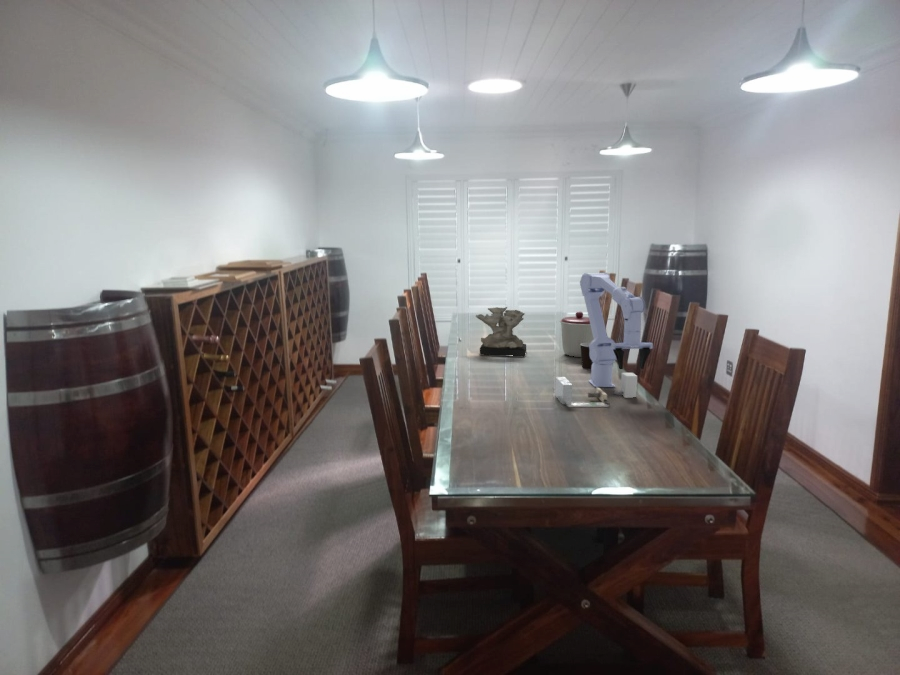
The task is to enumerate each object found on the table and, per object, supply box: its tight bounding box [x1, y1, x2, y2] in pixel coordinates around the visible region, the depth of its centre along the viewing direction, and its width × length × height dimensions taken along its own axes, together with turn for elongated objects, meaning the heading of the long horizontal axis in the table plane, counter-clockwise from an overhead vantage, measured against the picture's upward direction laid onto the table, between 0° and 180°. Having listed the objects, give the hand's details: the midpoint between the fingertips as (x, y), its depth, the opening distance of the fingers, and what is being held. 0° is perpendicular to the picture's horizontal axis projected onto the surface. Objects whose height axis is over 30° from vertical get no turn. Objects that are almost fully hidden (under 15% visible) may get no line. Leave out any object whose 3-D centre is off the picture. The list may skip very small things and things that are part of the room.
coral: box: [475, 306, 527, 357], centre depth 288 cm, size 25×20×21 cm
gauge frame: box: [554, 376, 610, 408], centre depth 207 cm, size 14×15×7 cm
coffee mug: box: [580, 343, 593, 370], centre depth 258 cm, size 12×9×10 cm
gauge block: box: [613, 372, 638, 399], centre depth 214 cm, size 5×7×8 cm
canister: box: [559, 311, 594, 358], centre depth 282 cm, size 18×18×21 cm
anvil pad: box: [587, 387, 611, 405], centre depth 207 cm, size 14×5×3 cm, turn 3°
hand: (631, 368), depth 212 cm, fingers open, 7 cm apart
